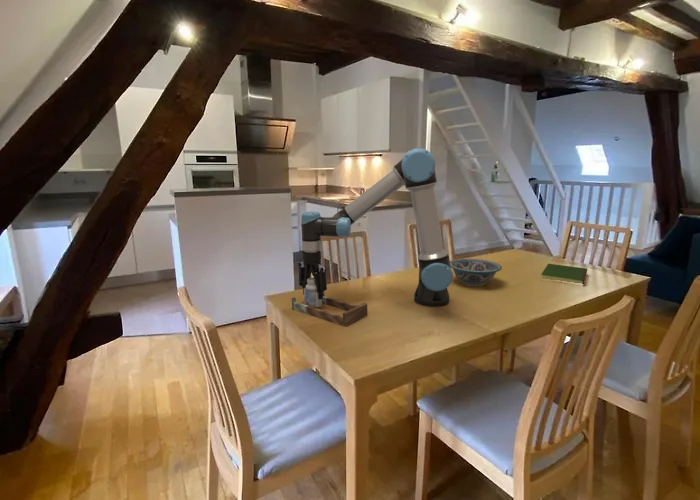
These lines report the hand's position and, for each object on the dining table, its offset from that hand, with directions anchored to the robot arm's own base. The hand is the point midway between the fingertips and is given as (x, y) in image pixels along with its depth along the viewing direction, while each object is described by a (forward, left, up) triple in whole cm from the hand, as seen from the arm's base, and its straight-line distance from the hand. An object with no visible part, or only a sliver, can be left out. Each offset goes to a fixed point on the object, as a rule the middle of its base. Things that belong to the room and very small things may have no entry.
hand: (313, 304), depth 165 cm
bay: (-8, -2, -1) cm, 8 cm away
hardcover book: (-74, -111, -2) cm, 133 cm away
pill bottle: (0, 0, -1) cm, 1 cm away
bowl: (-40, -72, -2) cm, 83 cm away
